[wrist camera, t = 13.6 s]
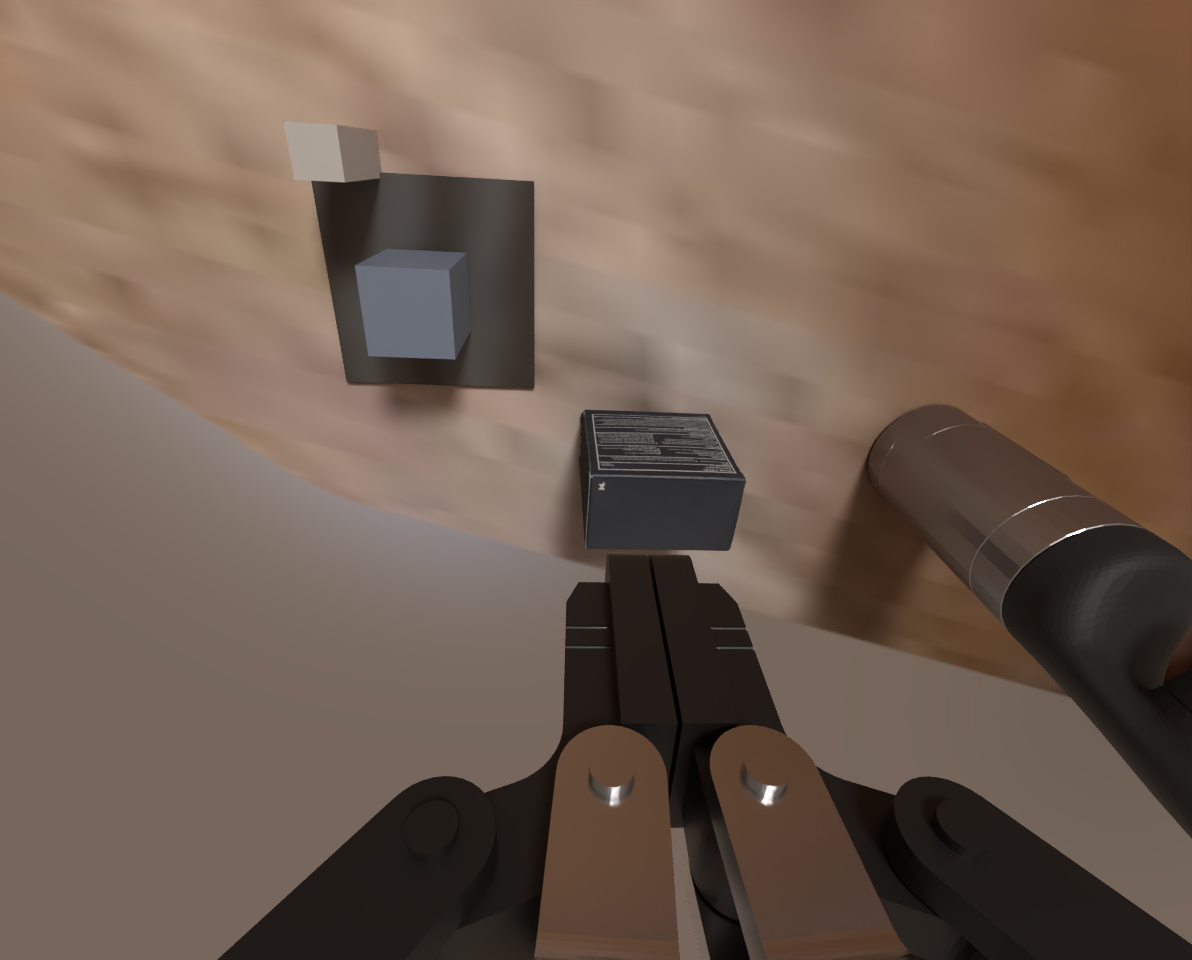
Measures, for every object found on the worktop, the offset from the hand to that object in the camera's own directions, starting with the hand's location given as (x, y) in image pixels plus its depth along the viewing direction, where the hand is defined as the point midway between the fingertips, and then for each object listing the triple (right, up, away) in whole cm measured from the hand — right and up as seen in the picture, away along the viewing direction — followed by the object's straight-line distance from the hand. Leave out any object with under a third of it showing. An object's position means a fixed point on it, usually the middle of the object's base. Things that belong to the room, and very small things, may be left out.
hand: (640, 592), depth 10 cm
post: (-16, +23, +25) cm, 37 cm away
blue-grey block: (-12, +15, +28) cm, 34 cm away
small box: (+3, +5, +36) cm, 37 cm away
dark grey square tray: (-12, +16, +29) cm, 35 cm away
